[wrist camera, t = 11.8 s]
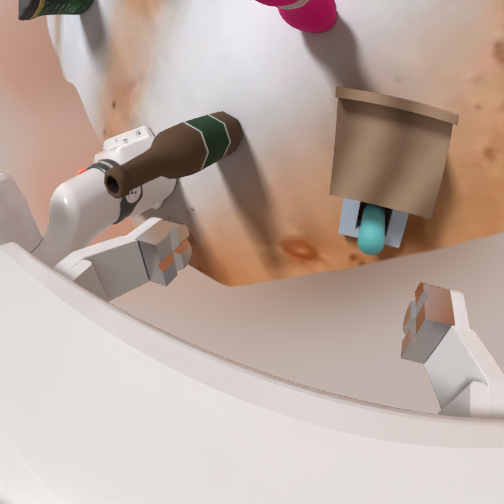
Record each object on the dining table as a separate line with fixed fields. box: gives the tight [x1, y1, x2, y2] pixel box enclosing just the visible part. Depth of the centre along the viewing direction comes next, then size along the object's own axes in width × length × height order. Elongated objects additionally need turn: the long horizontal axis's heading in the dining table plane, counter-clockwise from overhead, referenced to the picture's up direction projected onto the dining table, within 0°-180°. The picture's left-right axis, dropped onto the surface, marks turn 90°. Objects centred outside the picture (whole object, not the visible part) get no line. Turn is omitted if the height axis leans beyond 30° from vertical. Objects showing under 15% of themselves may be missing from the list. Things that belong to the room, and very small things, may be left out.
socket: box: [338, 198, 409, 248], centre depth 37 cm, size 10×16×3 cm, turn 0°
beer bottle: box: [104, 111, 242, 199], centre depth 35 cm, size 8×8×24 cm
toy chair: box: [330, 87, 459, 219], centre depth 28 cm, size 12×12×14 cm
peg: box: [358, 203, 385, 255], centre depth 37 cm, size 4×4×10 cm
